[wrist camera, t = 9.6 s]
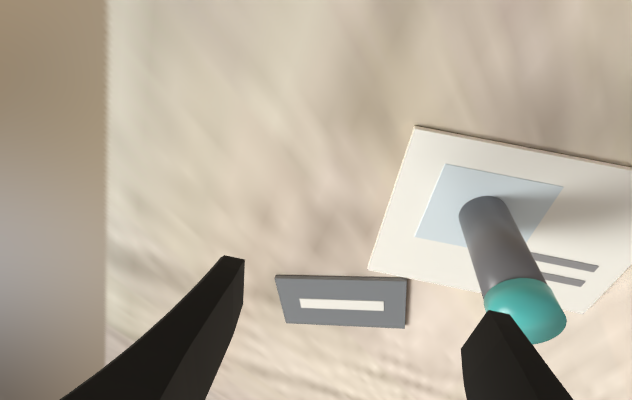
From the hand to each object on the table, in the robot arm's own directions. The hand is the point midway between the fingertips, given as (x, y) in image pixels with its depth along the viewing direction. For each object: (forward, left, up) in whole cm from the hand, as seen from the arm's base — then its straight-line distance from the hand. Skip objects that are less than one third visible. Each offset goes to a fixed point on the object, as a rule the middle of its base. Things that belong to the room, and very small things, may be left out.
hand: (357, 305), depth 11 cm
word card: (-1, +12, -10) cm, 16 cm away
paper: (-9, +3, -10) cm, 14 cm away
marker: (-7, +2, -9) cm, 12 cm away
